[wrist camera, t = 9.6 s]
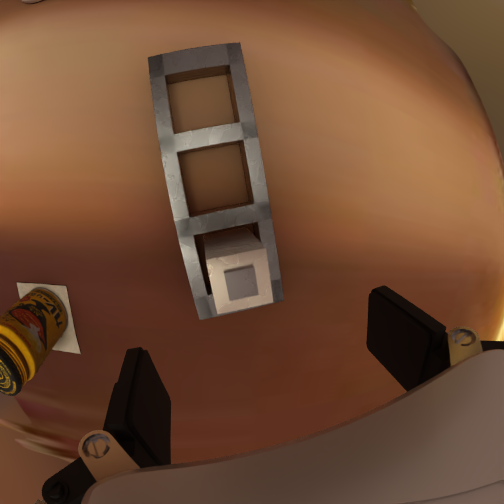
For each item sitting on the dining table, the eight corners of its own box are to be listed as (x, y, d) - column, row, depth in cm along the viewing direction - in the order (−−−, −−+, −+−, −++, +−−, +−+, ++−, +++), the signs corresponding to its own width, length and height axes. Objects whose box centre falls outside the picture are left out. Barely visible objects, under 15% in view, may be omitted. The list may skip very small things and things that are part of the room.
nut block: (203, 235, 26) (205, 261, 18) (246, 227, 26) (267, 249, 18) (211, 275, 27) (217, 316, 19) (252, 267, 27) (274, 304, 19)
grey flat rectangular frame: (152, 67, 20) (147, 57, 18) (236, 53, 21) (239, 42, 19) (199, 308, 27) (199, 319, 25) (277, 290, 28) (284, 300, 26)
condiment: (66, 285, 24) (8, 345, 13) (81, 352, 26) (45, 425, 15) (17, 281, 23) (-44, 330, 11) (33, 345, 25) (-9, 406, 13)
